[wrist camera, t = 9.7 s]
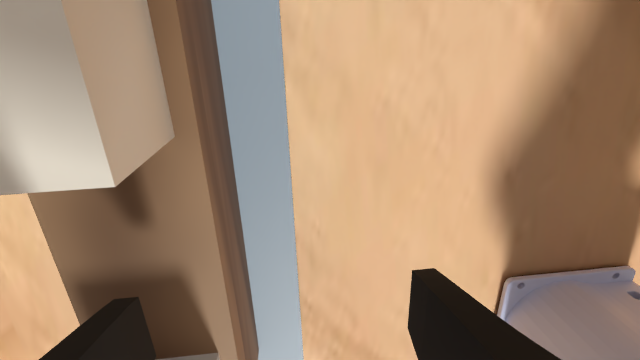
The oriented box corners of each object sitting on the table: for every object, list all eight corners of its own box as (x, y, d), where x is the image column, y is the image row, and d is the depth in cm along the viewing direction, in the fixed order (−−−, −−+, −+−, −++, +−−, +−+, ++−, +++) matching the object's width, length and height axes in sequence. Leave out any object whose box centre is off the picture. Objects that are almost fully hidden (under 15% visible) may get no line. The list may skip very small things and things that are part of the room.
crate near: (144, -10, 8) (46, -50, 5) (174, 136, 9) (115, 186, 6) (-18, -7, 8) (-247, -46, 4) (38, 144, 9) (-104, 202, 6)
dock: (274, -67, 14) (272, -94, 11) (301, 324, 23) (303, 363, 20) (25, -66, 13) (-43, -94, 11) (148, 340, 22) (128, 383, 19)
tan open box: (205, -45, 12) (140, -120, 6) (258, 348, 19) (249, 467, 14) (55, -43, 11) (-146, -121, 6) (168, 358, 19) (122, 485, 13)
